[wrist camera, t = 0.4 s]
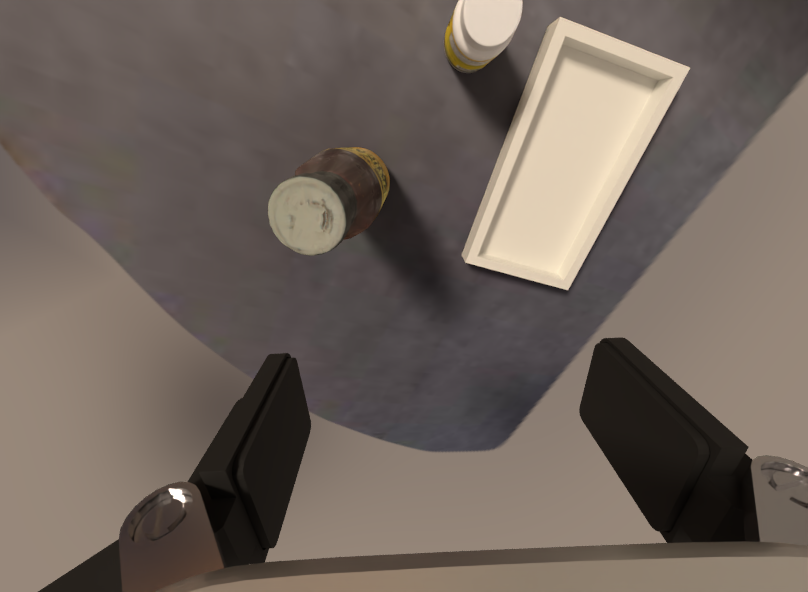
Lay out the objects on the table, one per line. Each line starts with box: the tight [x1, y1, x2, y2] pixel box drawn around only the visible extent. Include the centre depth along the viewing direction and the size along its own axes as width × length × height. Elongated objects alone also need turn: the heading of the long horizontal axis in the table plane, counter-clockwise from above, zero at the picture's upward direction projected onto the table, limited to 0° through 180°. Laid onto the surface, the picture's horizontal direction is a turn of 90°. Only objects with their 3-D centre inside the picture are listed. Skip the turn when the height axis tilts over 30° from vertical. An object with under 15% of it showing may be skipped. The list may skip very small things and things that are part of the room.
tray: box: [462, 17, 690, 290], centre depth 33 cm, size 22×12×2 cm, turn 164°
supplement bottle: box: [444, 0, 522, 73], centre depth 26 cm, size 5×5×8 cm
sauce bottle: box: [268, 147, 390, 256], centre depth 25 cm, size 7×6×20 cm
